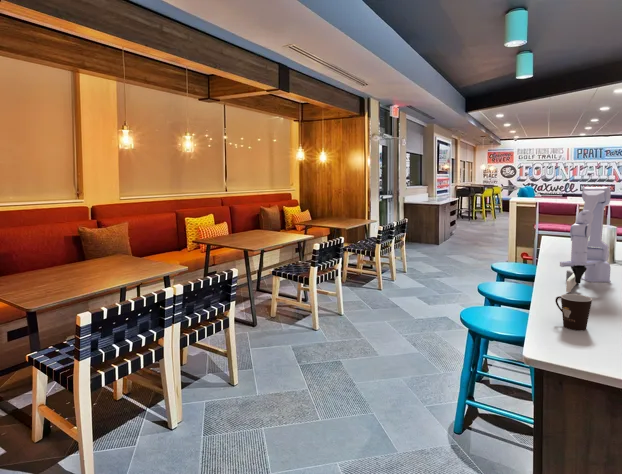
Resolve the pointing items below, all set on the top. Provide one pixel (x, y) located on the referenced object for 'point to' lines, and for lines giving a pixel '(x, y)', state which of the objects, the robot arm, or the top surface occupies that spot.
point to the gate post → (569, 275)
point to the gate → (570, 283)
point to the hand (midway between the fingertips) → (577, 282)
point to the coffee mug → (575, 310)
